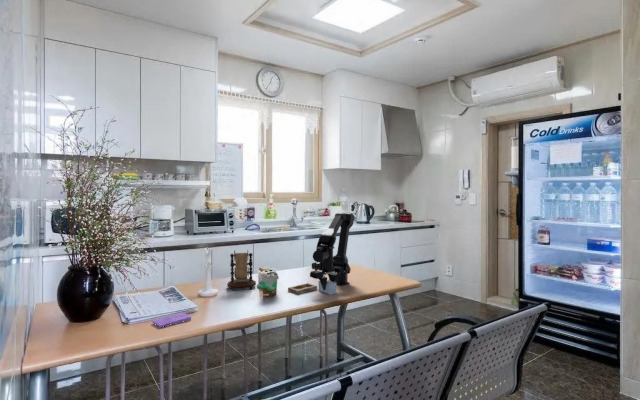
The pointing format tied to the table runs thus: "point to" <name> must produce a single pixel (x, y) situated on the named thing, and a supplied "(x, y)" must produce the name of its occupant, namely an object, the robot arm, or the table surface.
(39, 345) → the table surface
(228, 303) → the table surface
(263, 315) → the table surface
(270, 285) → the food container
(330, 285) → the key block
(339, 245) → the robot arm
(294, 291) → the tan picture frame
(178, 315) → the purple flat block
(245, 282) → the scroll
